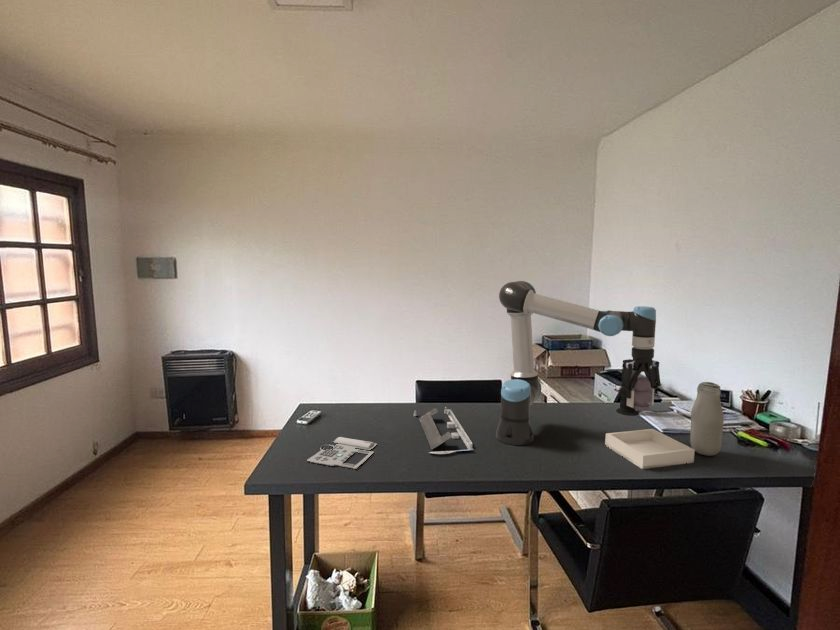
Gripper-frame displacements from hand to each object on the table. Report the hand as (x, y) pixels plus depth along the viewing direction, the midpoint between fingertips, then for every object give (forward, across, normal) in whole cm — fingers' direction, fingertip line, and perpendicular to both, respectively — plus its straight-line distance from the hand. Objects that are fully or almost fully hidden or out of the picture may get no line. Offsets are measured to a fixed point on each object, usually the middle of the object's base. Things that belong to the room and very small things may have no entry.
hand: (639, 405), depth 161 cm
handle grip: (+18, +27, +37) cm, 49 cm away
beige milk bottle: (+19, +22, -9) cm, 30 cm away
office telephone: (+17, -110, +24) cm, 114 cm away
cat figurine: (+1, 0, 0) cm, 1 cm away
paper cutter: (+18, -70, +34) cm, 80 cm away
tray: (+18, +1, -4) cm, 18 cm away
